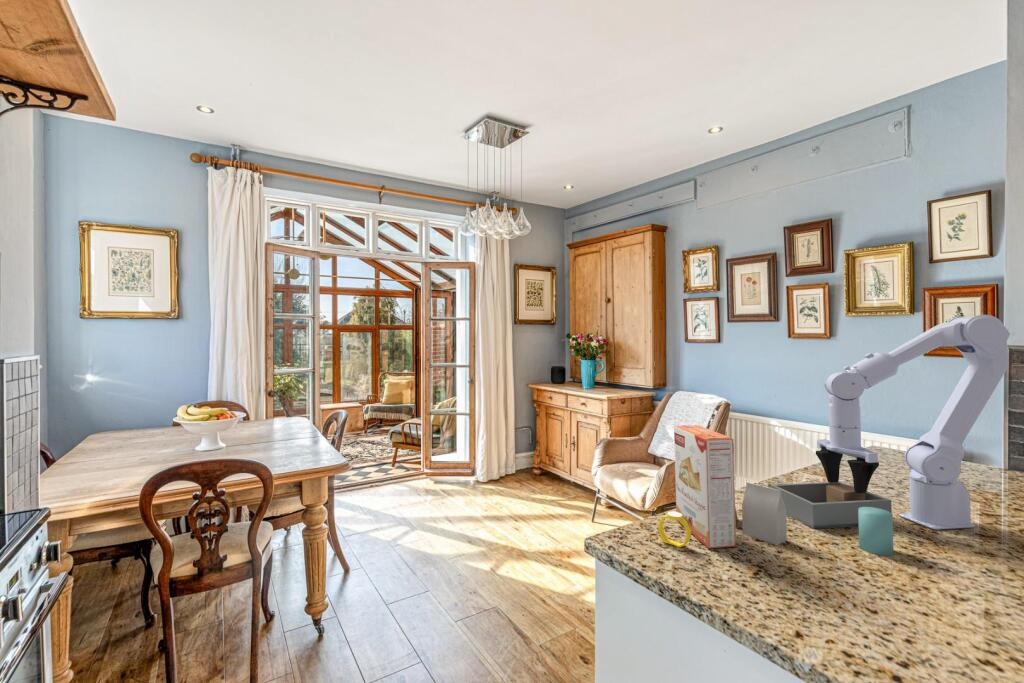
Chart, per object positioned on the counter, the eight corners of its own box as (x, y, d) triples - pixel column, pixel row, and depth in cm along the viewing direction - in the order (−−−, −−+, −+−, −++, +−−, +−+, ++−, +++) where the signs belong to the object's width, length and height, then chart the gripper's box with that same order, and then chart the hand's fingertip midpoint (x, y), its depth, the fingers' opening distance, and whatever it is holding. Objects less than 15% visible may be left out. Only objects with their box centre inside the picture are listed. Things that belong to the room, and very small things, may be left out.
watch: (656, 542, 91) (655, 511, 91) (662, 538, 93) (662, 508, 93) (686, 551, 87) (686, 519, 87) (692, 546, 89) (692, 515, 89)
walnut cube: (847, 506, 107) (846, 484, 107) (865, 514, 102) (865, 491, 102) (826, 507, 107) (826, 485, 107) (844, 515, 102) (843, 492, 102)
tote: (840, 502, 111) (839, 481, 111) (891, 524, 98) (891, 500, 98) (770, 506, 110) (770, 484, 110) (813, 528, 96) (812, 504, 96)
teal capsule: (876, 543, 89) (875, 506, 89) (900, 554, 84) (899, 515, 84) (852, 544, 89) (851, 507, 89) (875, 556, 84) (874, 517, 84)
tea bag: (776, 545, 89) (775, 492, 89) (742, 533, 95) (741, 484, 95) (786, 540, 91) (785, 489, 91) (752, 529, 97) (751, 480, 97)
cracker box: (674, 521, 101) (672, 425, 102) (701, 520, 102) (699, 424, 102) (706, 549, 88) (704, 437, 88) (737, 548, 88) (735, 436, 88)
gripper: (804, 421, 111) (806, 478, 111) (855, 433, 97) (856, 498, 97) (832, 420, 112) (833, 477, 112) (886, 431, 97) (888, 497, 97)
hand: (846, 487), depth 104 cm, fingers open, 7 cm apart
